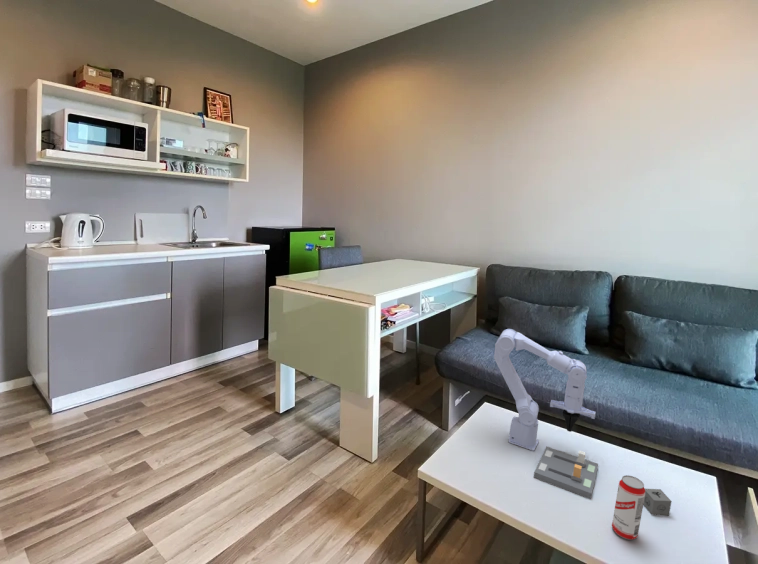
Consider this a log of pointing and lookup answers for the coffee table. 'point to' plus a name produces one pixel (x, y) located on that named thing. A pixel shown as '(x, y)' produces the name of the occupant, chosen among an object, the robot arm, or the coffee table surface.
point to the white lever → (581, 459)
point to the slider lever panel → (565, 472)
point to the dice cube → (657, 502)
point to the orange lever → (577, 473)
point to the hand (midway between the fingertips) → (569, 430)
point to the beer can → (628, 507)
